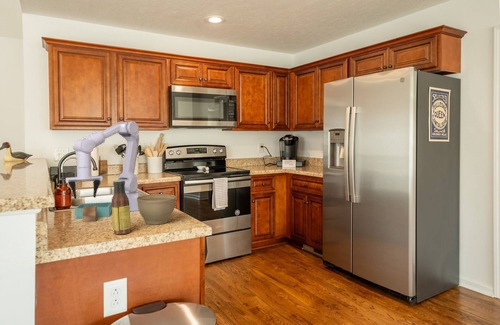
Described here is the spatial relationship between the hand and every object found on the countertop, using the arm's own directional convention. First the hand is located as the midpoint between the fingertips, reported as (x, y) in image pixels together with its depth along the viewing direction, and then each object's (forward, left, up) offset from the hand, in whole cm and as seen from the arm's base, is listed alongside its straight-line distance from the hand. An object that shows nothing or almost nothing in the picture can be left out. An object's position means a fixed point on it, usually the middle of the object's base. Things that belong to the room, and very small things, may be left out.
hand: (85, 197), depth 151 cm
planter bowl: (-30, +14, -10) cm, 35 cm away
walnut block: (-2, +3, -10) cm, 10 cm away
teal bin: (-2, -9, -10) cm, 13 cm away
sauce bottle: (-17, +28, -10) cm, 34 cm away
